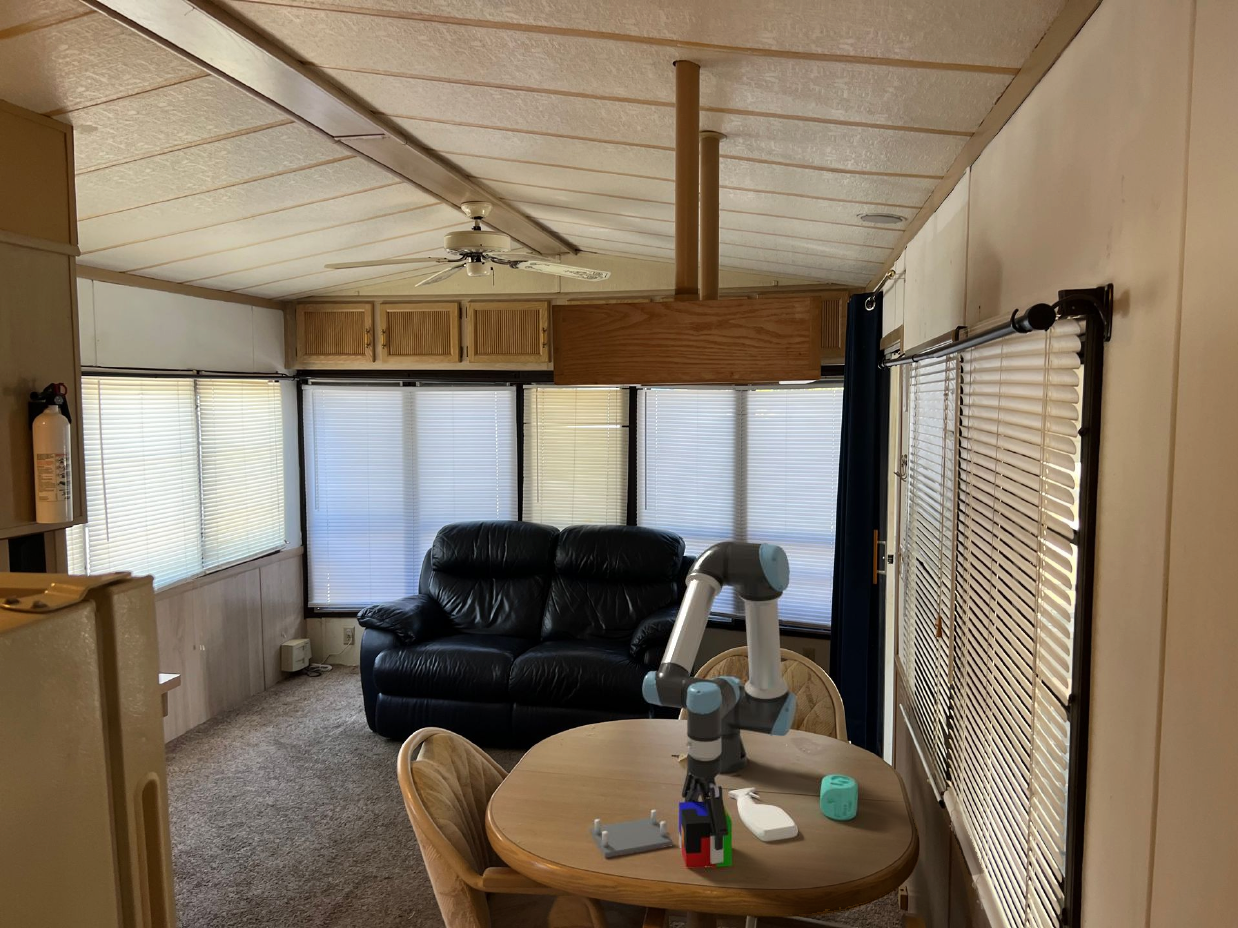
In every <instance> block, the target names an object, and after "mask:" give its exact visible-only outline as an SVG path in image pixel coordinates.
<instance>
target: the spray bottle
mask: <svg viewBox="0 0 1238 928" xmlns="http://www.w3.org/2000/svg"><path fill="white" fill-rule="evenodd" d="M755 792H756V787H747V788H746V787H745V788H741V789H735V790H733V789H732V790H731V791H728V798H731V799H735V800H736V801H737V803H736V804H737V810H738V815H739V817H740V819H741V821H742V822H743V824H744V825H745V826H746V828H747V829H748V830H749V831H750V832H752V834H754V835H755V836H756V837H757V838H758V839H759V840H760V841H763V842H772V841H780V840H785V839H790V838H795V837H797V836H798V833H799V829H798V826H797V824H796V823H795V821H794V820H793V819H792V818H791V817H790V816H789V815H788V813H786V812H785V811H784V810H783V809H782V808H781V807H779V806H775V805H771V804H763V803H762V804H759V803H758V804H757V803H756V802H755V801H754V800H753V798H757V799H760V798H761V797H760V796H759V795H757V794H755Z"/></svg>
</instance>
